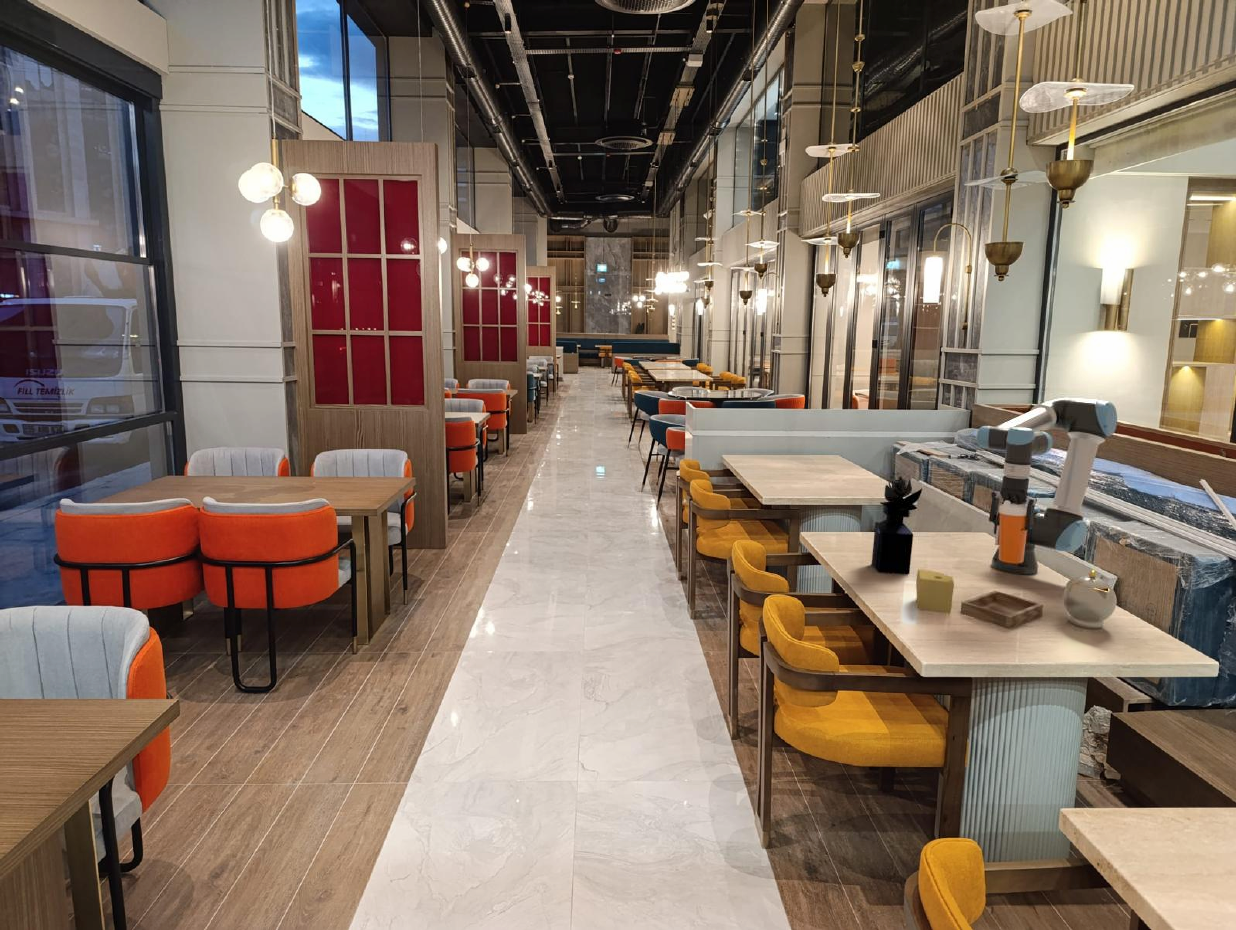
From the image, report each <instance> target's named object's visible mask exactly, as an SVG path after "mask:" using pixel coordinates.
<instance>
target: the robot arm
mask: <svg viewBox="0 0 1236 930" xmlns="http://www.w3.org/2000/svg"><path fill="white" fill-rule="evenodd" d="M1117 424H1118V413H1117V409H1116V407H1115V405H1114V403H1112V402H1110V401H1108V400H1101V399H1089V398H1078V397H1077V398H1075V397H1068V396H1067V397H1059V398H1054V399H1050V400H1045V401H1043V402H1041V403H1040V402H1039V403H1038V404H1036V405H1034V406H1033V407H1032V408H1031V409H1030V411H1028V412H1025V413H1023V414H1021V415H1019V416H1017V417H1015V418H1011V419H1010V420H1008V421H1006V422H1003V423H1001V424H999V425H996V426H992V425H983V426H981V427H980V428H979V429H978V430H977V433H976V443H977V446H978V447H980V448H983V449H987V450H992V451H993V450H994V451H1002V452H1005V453H1004V455H1005V458H1004V463H1003V465H1004V466H1003V471H1002V472H1003V473H1002V474H1003V476H1002V481H1001V489H1000V490H999V491H997V490H995V491H992V492H991V495H990V496H991V504H990V511H989V517H988V521H989V522H990V523H993V524H994V527H993V534H994V535H995V541H994V545H995V546H998V547H997V549H996V551H995V553H994V555H993V557H992V558H991V564H990V565H991V566H992V568H994V569H997V570H999V571H1002V572H1006V573H1011V574H1017V575H1033V574H1037V573H1038V570H1039V565H1038V559H1037V555H1036V550H1035V548H1036V546H1037V547H1043V548H1047V549H1052V550H1056V551H1058V552H1065V553H1073V552H1075V551H1077V550H1078V549H1079V548H1080V547H1081V546H1082V545H1083V543H1084V541H1085V539H1086V536H1087V533H1088V525H1087V522H1085V521H1084V515H1083V513H1082V512H1081V508H1082V505H1083V503H1084V502H1083V501H1084V498H1085V495H1086V493H1087V492H1086V491H1087V488H1088V484H1089V481H1090V477H1091V473H1092V470H1093V466H1094V463H1095V459H1096V455H1097V451H1098V448H1099V445H1101V444H1103V443H1105V442H1106V438H1107V436H1108V437H1109V436H1112V435H1114V433H1115V432H1116V429H1117ZM1051 429H1053V430H1054V429H1056V430H1062V431H1063V430H1064V431H1067V436H1068V438H1070V440H1069V441H1070V442H1069V445H1068V448H1067V451H1066V456H1065V460H1064V463H1063V466H1062V470H1061V472H1060V473H1061V474H1060V477H1059V481H1058V485H1057V488H1056V492H1055V495H1054V498H1053V502H1052V504H1051V505H1049V506H1047V507H1046V509H1045V512H1041V508H1040V507H1039V506H1036V504H1037V502H1038V499H1037V498H1036V497H1035V498H1033V497H1031V496H1029V494H1028V493H1029V492H1028V489H1029V482H1030V478H1029V477H1030V476H1031V475H1030V474H1031V466H1032V465H1031V464H1032V458H1033V457H1035V456H1041V455H1045V454H1046V453H1049V452H1050V450H1052V448H1053V445H1054V441H1053V438H1052V436H1051V434H1050V433H1048V432H1046V431H1048V430H1051ZM1000 498H1002V500H1005V499H1007V500H1009V501H1015V502H1011V503H1014V504H1016V505H1019V504H1022V503H1023V501H1025V500H1027V503H1026V505H1027V516H1026V526H1025V530H1027V535H1026V543H1025V551H1024V559H1023V562H1022V563H1007V562H1003V561H1000V560H999V518H1000V513H999V506H1000V505H1002V504H1003V502H1002V501H1001V504H1000ZM999 504H1000V505H999ZM1022 530H1024V529H1021V531H1022Z"/></svg>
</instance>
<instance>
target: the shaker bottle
mask: <svg viewBox="0 0 1236 930" xmlns="http://www.w3.org/2000/svg"><path fill="white" fill-rule="evenodd" d="M1002 502H1003V504H1002ZM1011 502H1015V501H1009V500H1007V499H1005V500H1003V499H1002V500H1001V504H1002V505H1001V504H1000V505H998V512H999V513H1000V518H999V545H998V547H999V560H1000V561H1003V562H1007V563H1022V562H1023V559H1024V551H1025V543H1026V535H1027V530H1025V526H1026V516H1027V505H1028V504H1027V500H1025V501H1023V503H1022V504H1019V505H1016V504H1014V503H1011ZM1021 529H1024V530H1022V531H1021Z"/></svg>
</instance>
